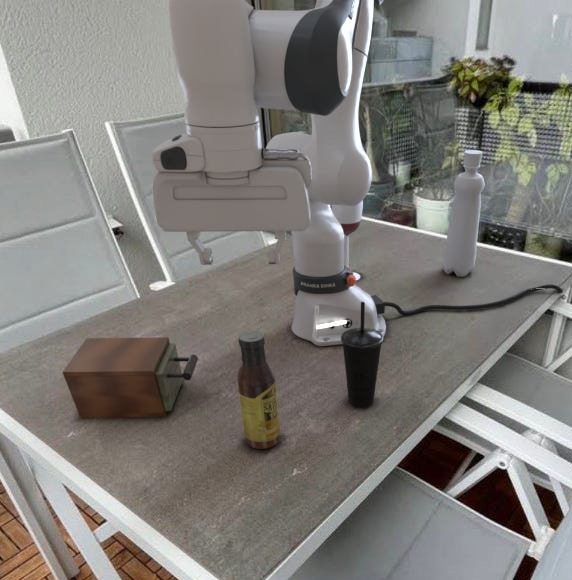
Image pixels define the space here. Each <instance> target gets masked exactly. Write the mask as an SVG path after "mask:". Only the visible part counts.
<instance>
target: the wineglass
mask: <svg viewBox="0 0 572 580" xmlns="http://www.w3.org/2000/svg"><path fill="white" fill-rule="evenodd" d="M363 208H364V199H363V200H362V201H361V202H360V203H359V204H357V205H355V206H331V210H332V212H333V214H334V216H335V218H336V219H337V220H338V222H339V223H340V225H341V226H342V229H343V232H344V236H345V266H346V267H348V268H349V266H350V265H349V255H350V254H349V252H350V251H349V248H350V247H349V245H350V243H349V241H350V239H349V238H350V237H349V235H351V234H353V233H354V232H355V231H357V229H358V228H359V227H360V225H361V222H362V216H363ZM353 275H354V276H355V278H356V281H358V280H360V279H361V275H360V274H359V273H358V272H354V271H353Z"/></svg>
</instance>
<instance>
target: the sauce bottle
mask: <svg viewBox="0 0 572 580" xmlns="http://www.w3.org/2000/svg"><path fill="white" fill-rule="evenodd" d="M237 339H238V346H239V348H240V355H241V365H240V367H239V369H238V371H237V385H238V391H237V392H238V398H239V406H240V413H241V420H242V427H243V433H244V436H245V441H246V443H247V445H248V446H249V447H251V448H253V449H257V450H266V449H270V448H273V447H274V446H276V445H277V444H278V442H280V434H281V428H280V415H279V405H278V403H279V402H278V393H277V383H276V378H275V375H274V373H273V371H272V369H271V368H270V365H269V363H268V361H267V357H266V351H265V350H266V349H265V344H266V339H265V335H264V334H263V332H261V331H258V330H248V331H244V332H241V333H240V334H239V335H238V337H237Z"/></svg>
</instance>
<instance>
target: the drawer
mask: <svg viewBox="0 0 572 580" xmlns="http://www.w3.org/2000/svg"><path fill="white" fill-rule="evenodd" d="M198 360H199V358H198V355H196V354H190V355H189V356H188V357H187V356H186V357H185V356H184V357H182V356H181V357H179V354H178V349H177V344H176V343H173V342H172V343H171V342H170V343H169V345H168V347H167V349H166V351H165V354H164V356H163V357H162V359H161V361H160V363H159V365H158V368H157V370H156V372H155V375H156V379H157V383H158V386H159V390H160V394H161V397H162V401H163V405H164V409H165V411H167V412H171V411H172V410H173V407H174V405H175V402H176V399H177V396H178V394H179V391H180V389H181V386H182V383H183V381H184V380H185V381H190V380H191V379H192V378H193V374H194V371H195V368H196V366H197V363H198ZM181 362H186V365H185V367H184V370H183V371H182V367H181Z"/></svg>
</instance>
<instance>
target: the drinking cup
mask: <svg viewBox="0 0 572 580" xmlns="http://www.w3.org/2000/svg"><path fill="white" fill-rule="evenodd" d="M364 319H365V302H361V327H360V328H353V329H349V330H347V331H345V332H344V333H343V334H342V335H341V341H342V343H343V344H342V348H343V350H342V351H343V358H344V367H345V377H346V378H345V380H346V388H347V397H348V404H349V405H350V406H351V407H353V408H356V409H366V408H370V407H371V406H373V405H374V399H375V395H376V394H375V393H376V386H377V379H378V372H379V364H380V358H381V350H382V344H383V342H384V337H383V335H382V334H381V333H380V332H379V331H377V330H374V329H370V328H364Z"/></svg>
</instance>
